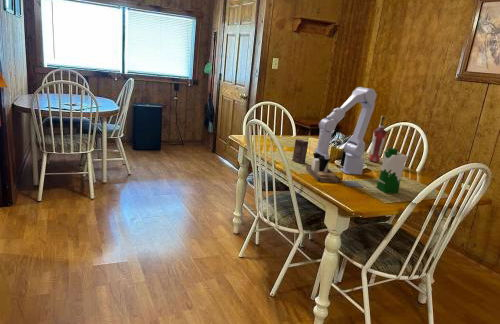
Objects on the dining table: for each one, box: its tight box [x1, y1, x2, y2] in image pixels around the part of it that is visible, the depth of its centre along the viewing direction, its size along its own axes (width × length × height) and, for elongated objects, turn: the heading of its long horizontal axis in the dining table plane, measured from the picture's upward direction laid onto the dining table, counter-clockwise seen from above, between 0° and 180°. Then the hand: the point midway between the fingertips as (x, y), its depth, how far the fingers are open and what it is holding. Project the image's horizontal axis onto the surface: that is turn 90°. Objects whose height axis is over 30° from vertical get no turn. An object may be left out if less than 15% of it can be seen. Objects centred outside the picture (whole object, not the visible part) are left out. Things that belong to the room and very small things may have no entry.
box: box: [292, 138, 309, 164], centre depth 199 cm, size 6×4×12 cm
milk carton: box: [375, 147, 409, 194], centre depth 167 cm, size 9×9×20 cm
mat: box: [340, 180, 364, 188], centre depth 172 cm, size 8×7×1 cm
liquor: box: [368, 115, 387, 163], centre depth 219 cm, size 7×7×28 cm
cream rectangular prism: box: [311, 157, 330, 174], centre depth 184 cm, size 7×4×7 cm, turn 100°
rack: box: [305, 165, 342, 184], centre depth 180 cm, size 11×18×2 cm, turn 10°
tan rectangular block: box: [317, 172, 337, 178], centre depth 175 cm, size 8×4×3 cm, turn 100°
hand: (319, 169), depth 184 cm, fingers open, 6 cm apart
